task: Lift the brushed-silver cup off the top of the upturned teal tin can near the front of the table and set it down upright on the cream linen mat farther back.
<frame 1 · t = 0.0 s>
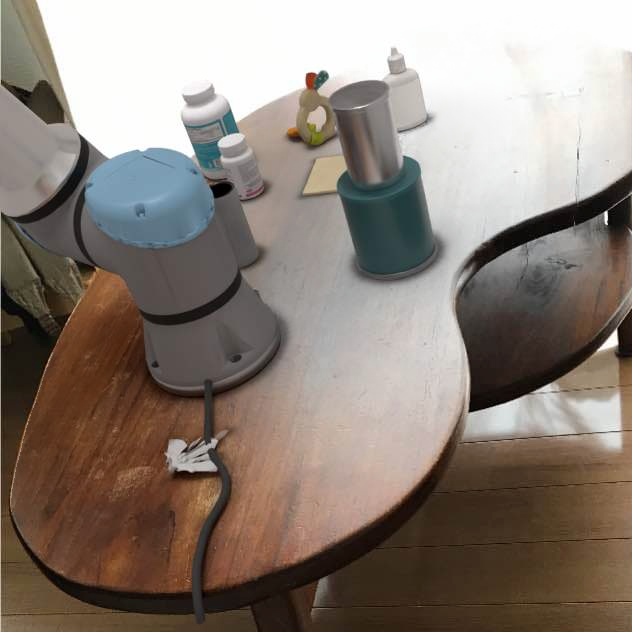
rattle: (316, 138, 137), on the table
teal tin can: (397, 255, 107), on the table
pill bottle: (249, 193, 128), on the table
flower: (202, 455, 88), on the table
cup: (378, 176, 100), point 11 cm above the table, touching teal tin can
pill bottle 2: (227, 170, 136), on the table
mat: (343, 173, 126), on the table
grey hollow tube: (242, 259, 114), on the table
eye dropper bottle: (409, 125, 133), on the table
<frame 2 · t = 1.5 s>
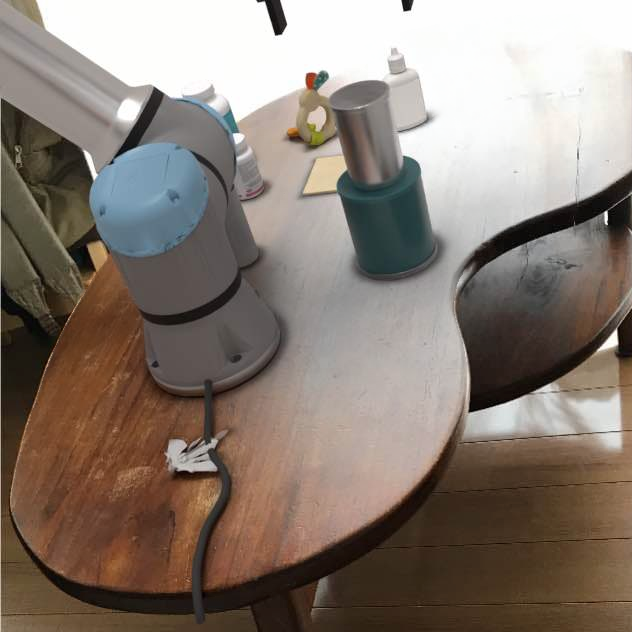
hand: (343, 19, 89), 29 cm above the table, tool pointing down, fingers open, 13 cm apart
nothing on the table moved.
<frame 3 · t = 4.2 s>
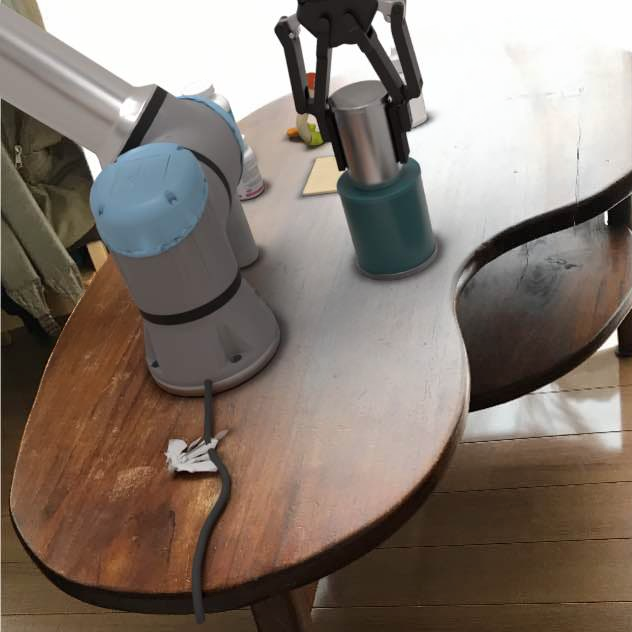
hand: (374, 161, 98), 13 cm above the table, tool pointing down, fingers closed on cup, 6 cm apart
cup: (378, 176, 100), point 11 cm above the table, touching teal tin can, gripper
everything else where it was.
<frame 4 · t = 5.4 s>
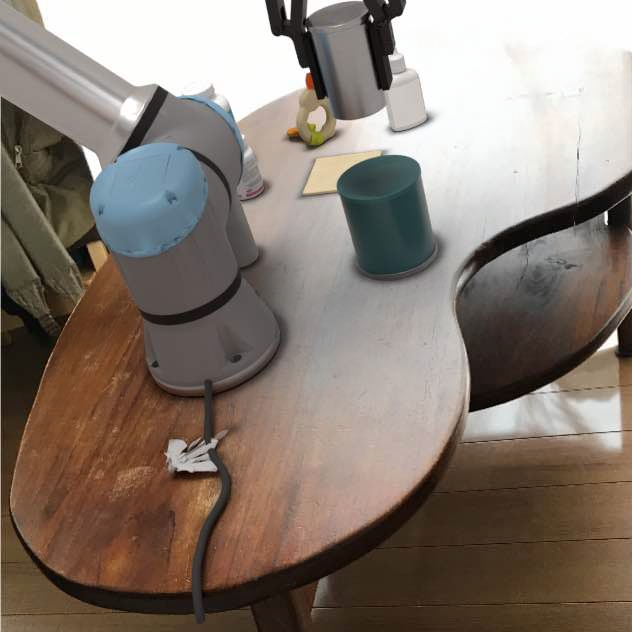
hand: (355, 89, 93), 22 cm above the table, tool pointing down, fingers closed on cup, 6 cm apart
cup: (359, 106, 94), point 20 cm above the table, touching gripper
everything else where it was.
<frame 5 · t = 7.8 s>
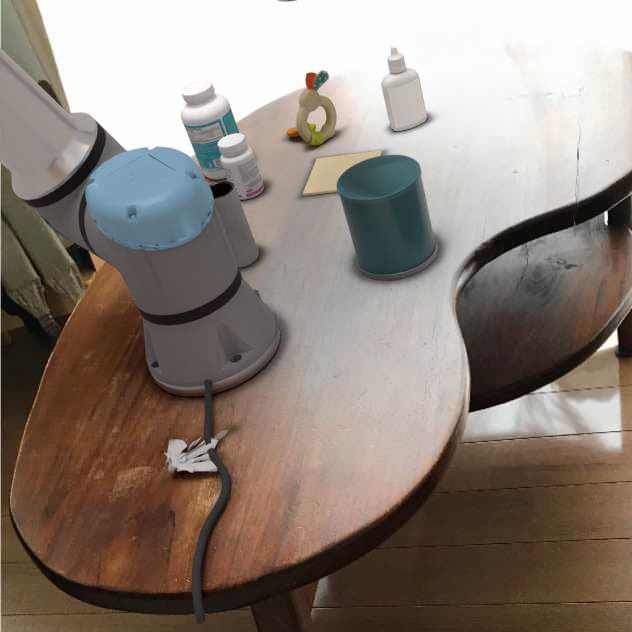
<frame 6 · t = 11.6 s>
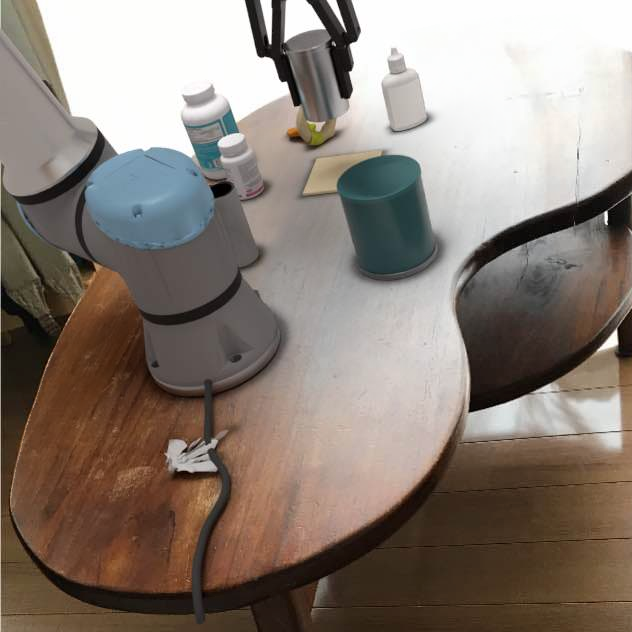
hand: (323, 98, 118), 12 cm above the table, tool pointing down, fingers closed on cup, 6 cm apart
cup: (327, 111, 120), point 10 cm above the table, touching gripper
everything else where it was.
when the fingers open (2 cm above the table, at t = 14.1 s): cup stays where it is, resting on mat.
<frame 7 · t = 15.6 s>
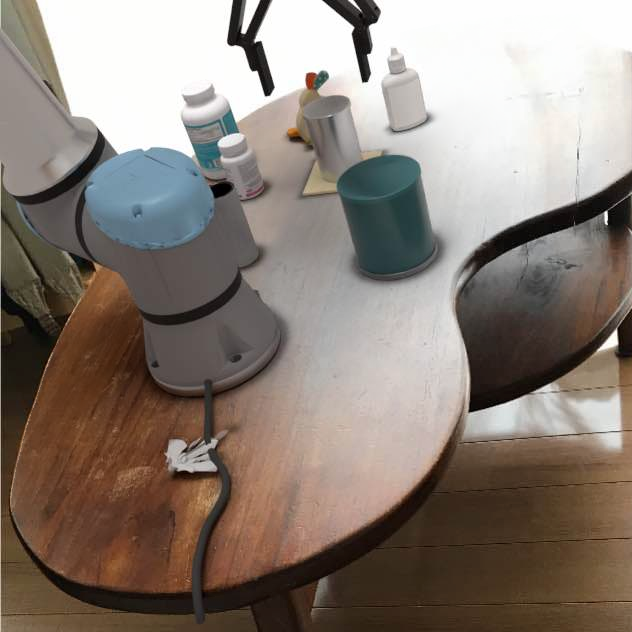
hand: (317, 85, 117), 14 cm above the table, tool pointing down, fingers open, 13 cm apart
cup: (343, 171, 125), resting on mat
everything else where it was.
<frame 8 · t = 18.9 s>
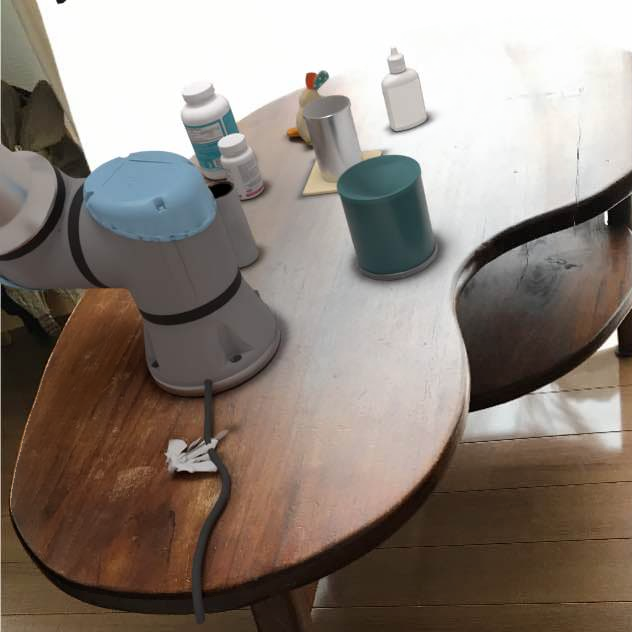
nothing on the table moved.
at the end: cup inside the target area on the mat (0.1 cm from its centre), point 0.4 cm above the mat's base; cup tilted 0°; cup touching mat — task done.
